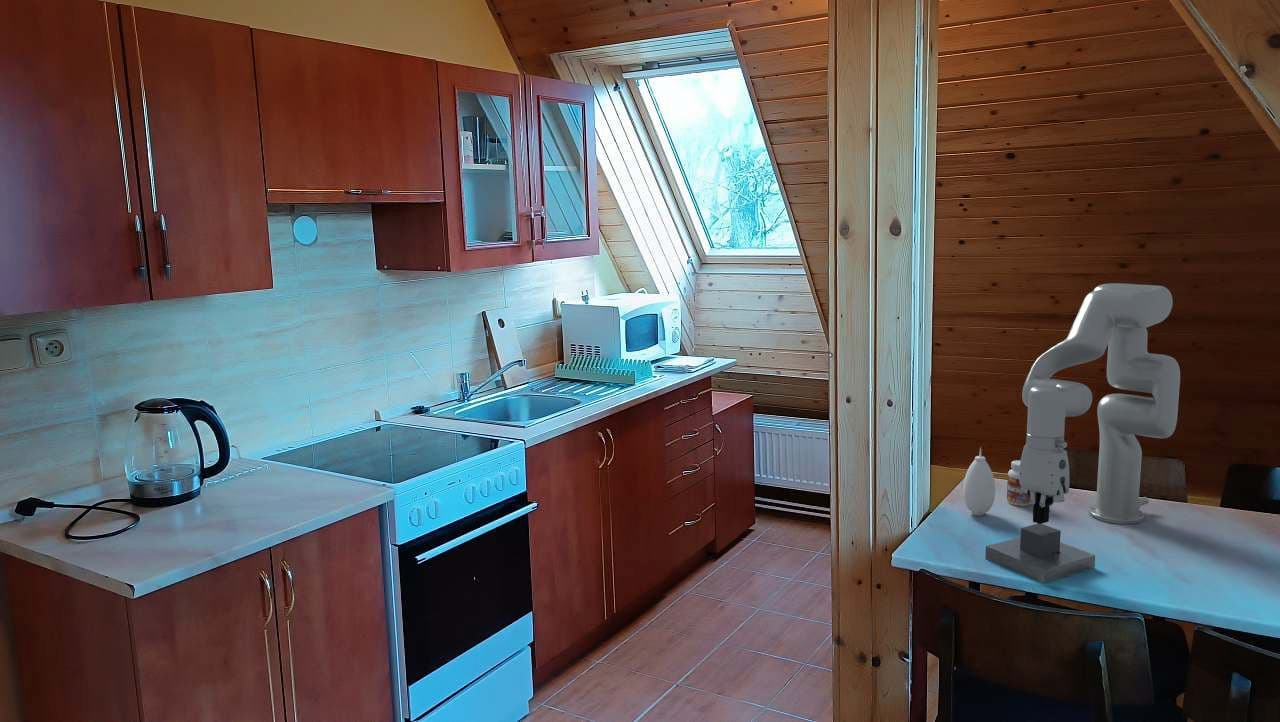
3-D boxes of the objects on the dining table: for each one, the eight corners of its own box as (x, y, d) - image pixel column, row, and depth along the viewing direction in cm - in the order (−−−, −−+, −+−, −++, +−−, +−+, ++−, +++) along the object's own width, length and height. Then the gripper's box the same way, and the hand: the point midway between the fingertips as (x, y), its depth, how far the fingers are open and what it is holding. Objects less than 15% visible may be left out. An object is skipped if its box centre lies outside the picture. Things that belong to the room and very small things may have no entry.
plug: (1038, 554, 212) (1039, 523, 211) (1059, 562, 207) (1060, 530, 206) (1019, 559, 209) (1020, 528, 208) (1040, 568, 205) (1041, 535, 203)
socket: (1034, 545, 219) (1035, 529, 218) (1094, 568, 205) (1095, 551, 204) (985, 558, 212) (985, 542, 211) (1043, 583, 198) (1044, 566, 197)
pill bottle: (1003, 503, 248) (1004, 463, 246) (1010, 497, 253) (1012, 458, 251) (1027, 508, 244) (1029, 467, 242) (1034, 501, 249) (1036, 461, 247)
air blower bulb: (961, 508, 245) (963, 442, 242) (992, 510, 243) (995, 443, 240) (963, 518, 238) (965, 450, 235) (995, 520, 236) (998, 451, 233)
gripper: (1086, 447, 198) (1081, 529, 202) (1028, 432, 212) (1025, 509, 215) (1062, 452, 195) (1057, 535, 198) (1005, 437, 208) (1001, 515, 211)
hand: (1040, 521), depth 207 cm, fingers closed
